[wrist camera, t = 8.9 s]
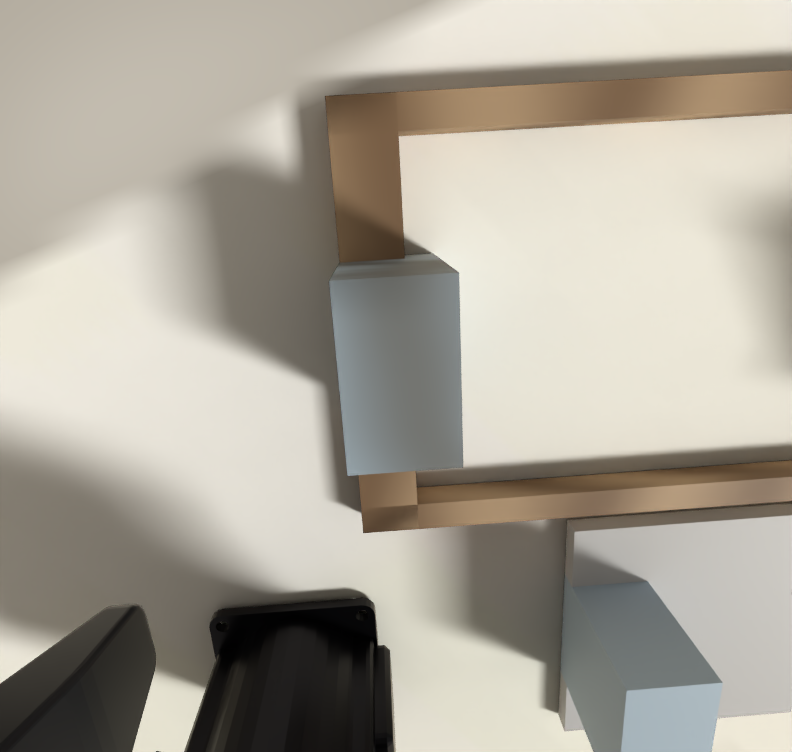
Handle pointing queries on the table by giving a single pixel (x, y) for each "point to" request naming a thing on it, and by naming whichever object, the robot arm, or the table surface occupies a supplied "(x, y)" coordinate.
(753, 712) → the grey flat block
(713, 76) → the wooden tray frame
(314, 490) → the table surface
